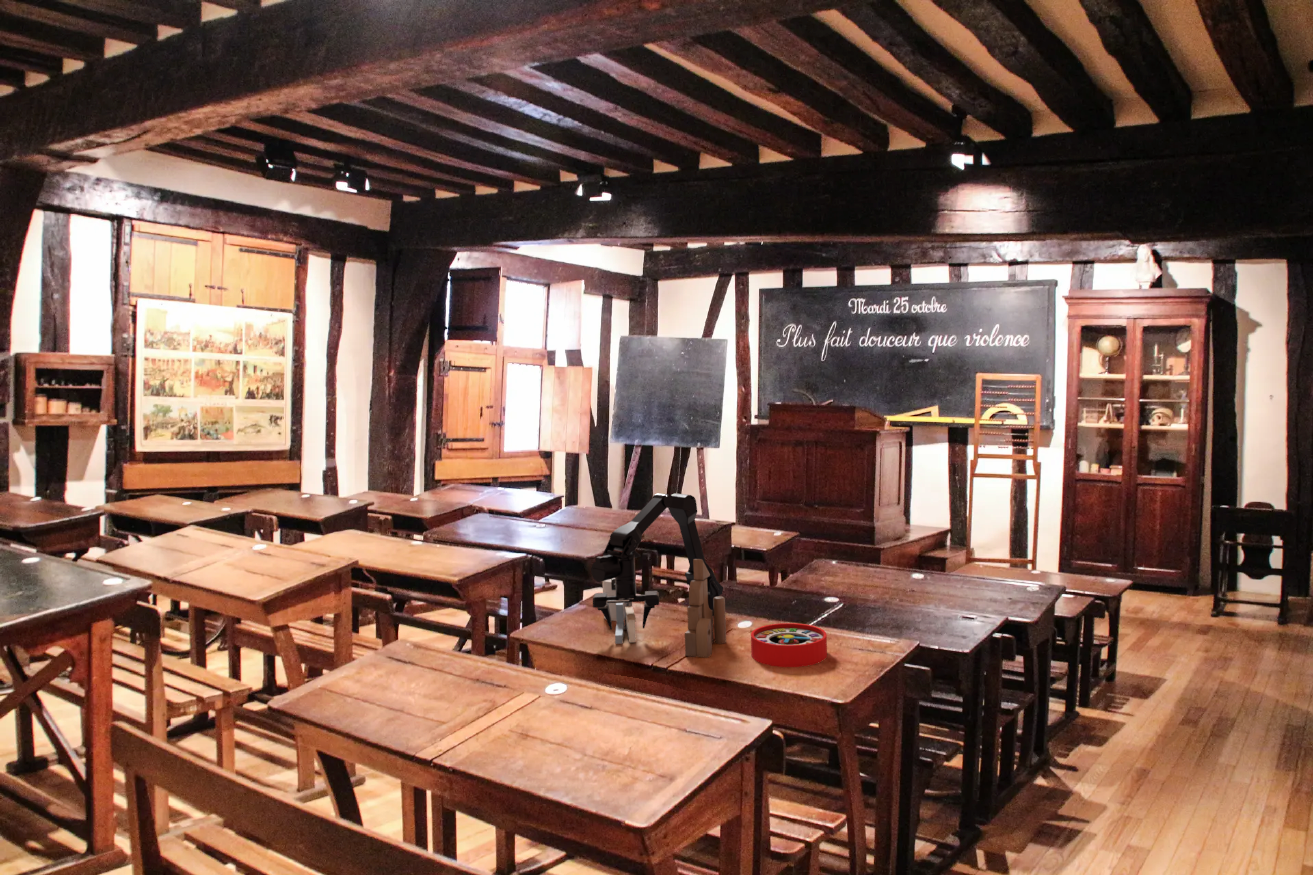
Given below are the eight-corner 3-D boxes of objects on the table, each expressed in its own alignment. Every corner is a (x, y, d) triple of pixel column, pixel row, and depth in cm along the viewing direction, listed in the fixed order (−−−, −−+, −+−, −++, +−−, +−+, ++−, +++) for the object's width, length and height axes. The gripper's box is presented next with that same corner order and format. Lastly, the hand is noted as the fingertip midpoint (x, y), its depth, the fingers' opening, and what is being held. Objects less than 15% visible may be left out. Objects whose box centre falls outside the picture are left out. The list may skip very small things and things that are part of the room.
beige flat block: (625, 629, 287) (624, 606, 287) (633, 628, 288) (632, 605, 287) (628, 642, 275) (627, 618, 274) (636, 641, 275) (635, 618, 274)
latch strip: (624, 629, 289) (623, 602, 288) (622, 643, 275) (621, 615, 274) (617, 629, 289) (616, 603, 288) (615, 643, 275) (614, 615, 274)
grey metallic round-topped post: (635, 625, 292) (633, 592, 291) (634, 629, 288) (633, 596, 287) (623, 626, 292) (621, 593, 291) (622, 629, 288) (621, 596, 287)
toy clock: (759, 621, 272) (831, 625, 266) (759, 641, 273) (832, 646, 267) (743, 643, 253) (820, 647, 247) (744, 665, 254) (821, 670, 248)
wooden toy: (708, 658, 260) (705, 565, 257) (685, 655, 262) (681, 564, 260) (727, 641, 274) (724, 553, 271) (705, 639, 276) (702, 552, 274)
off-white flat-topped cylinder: (619, 611, 308) (618, 574, 307) (635, 616, 301) (634, 578, 300) (598, 617, 303) (597, 579, 301) (614, 622, 296) (613, 583, 295)
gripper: (658, 566, 284) (660, 619, 286) (593, 569, 284) (596, 621, 286) (658, 576, 273) (660, 630, 275) (591, 578, 273) (593, 633, 275)
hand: (627, 628), depth 278 cm, fingers open, 9 cm apart
